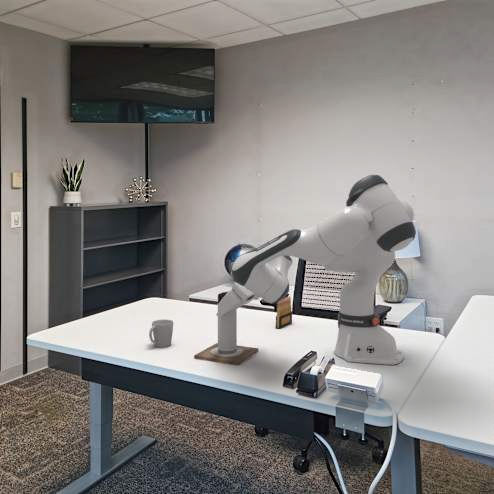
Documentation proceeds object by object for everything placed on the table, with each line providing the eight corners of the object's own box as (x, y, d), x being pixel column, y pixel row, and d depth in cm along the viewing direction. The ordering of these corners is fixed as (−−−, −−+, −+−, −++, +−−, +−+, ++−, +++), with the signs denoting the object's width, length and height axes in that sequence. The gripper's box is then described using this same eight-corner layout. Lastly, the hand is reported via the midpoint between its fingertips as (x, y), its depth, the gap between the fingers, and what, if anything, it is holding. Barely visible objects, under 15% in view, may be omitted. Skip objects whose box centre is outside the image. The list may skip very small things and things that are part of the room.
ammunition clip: (279, 329, 198) (279, 299, 197) (275, 328, 199) (275, 299, 198) (292, 323, 207) (292, 295, 206) (288, 323, 208) (288, 295, 207)
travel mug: (241, 351, 165) (241, 292, 163) (227, 355, 160) (227, 295, 158) (227, 347, 169) (227, 289, 167) (214, 351, 164) (213, 292, 162)
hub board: (258, 351, 169) (258, 347, 169) (238, 365, 155) (238, 361, 154) (217, 345, 176) (217, 341, 176) (194, 358, 161) (194, 354, 161)
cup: (178, 344, 177) (177, 321, 176) (158, 351, 169) (157, 327, 168) (162, 341, 181) (162, 318, 181) (142, 347, 173) (142, 323, 172)
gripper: (258, 274, 169) (233, 300, 174) (231, 283, 151) (204, 311, 156) (270, 288, 168) (244, 313, 173) (245, 299, 149) (216, 327, 154)
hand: (225, 313), depth 164 cm, fingers open, 8 cm apart
